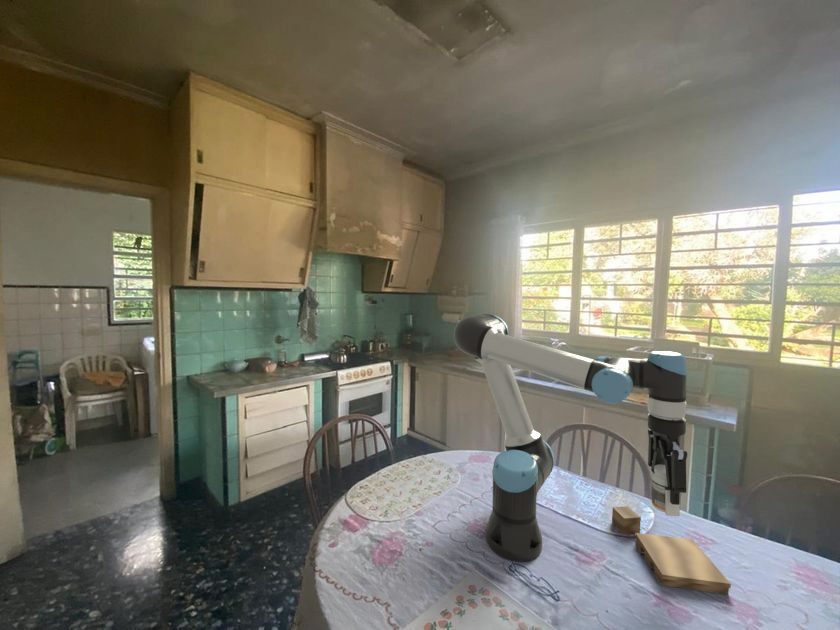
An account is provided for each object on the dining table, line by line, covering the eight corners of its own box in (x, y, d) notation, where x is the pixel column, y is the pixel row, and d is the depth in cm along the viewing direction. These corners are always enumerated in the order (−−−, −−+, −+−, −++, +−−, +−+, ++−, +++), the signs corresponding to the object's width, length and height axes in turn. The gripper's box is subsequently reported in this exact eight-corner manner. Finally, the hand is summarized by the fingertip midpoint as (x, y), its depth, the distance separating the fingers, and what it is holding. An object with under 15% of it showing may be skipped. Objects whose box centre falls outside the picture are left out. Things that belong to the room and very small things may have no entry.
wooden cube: (623, 535, 96) (624, 518, 96) (611, 523, 101) (612, 507, 101) (639, 534, 96) (640, 517, 96) (627, 522, 101) (628, 506, 101)
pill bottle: (670, 501, 86) (670, 463, 86) (685, 515, 80) (685, 475, 80) (646, 500, 87) (646, 462, 86) (659, 514, 81) (660, 474, 81)
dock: (661, 586, 79) (662, 574, 79) (634, 543, 93) (635, 532, 93) (729, 596, 77) (730, 583, 76) (691, 549, 90) (692, 539, 90)
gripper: (708, 430, 73) (706, 534, 74) (664, 403, 91) (663, 487, 92) (669, 428, 74) (668, 530, 75) (633, 402, 92) (632, 484, 94)
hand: (665, 506), depth 84 cm, fingers closed on pill bottle, 6 cm apart
